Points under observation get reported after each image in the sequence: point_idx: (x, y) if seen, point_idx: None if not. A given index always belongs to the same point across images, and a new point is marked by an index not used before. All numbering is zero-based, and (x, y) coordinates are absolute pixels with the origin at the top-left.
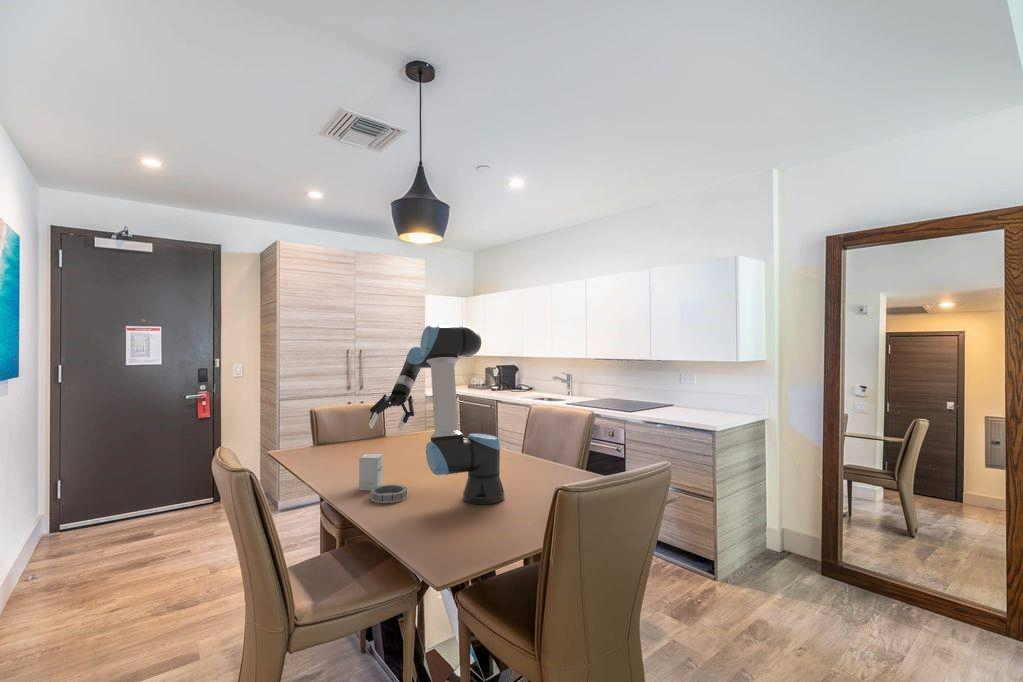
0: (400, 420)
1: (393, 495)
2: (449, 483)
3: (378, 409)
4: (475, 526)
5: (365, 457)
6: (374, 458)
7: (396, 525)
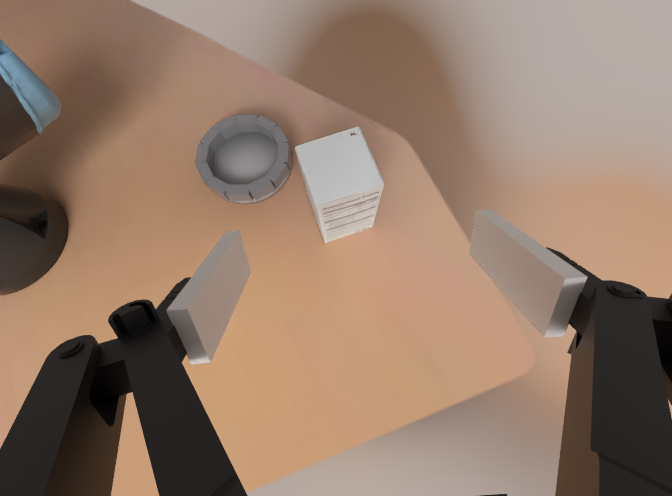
0: (219, 258)
1: (212, 127)
2: None
3: (594, 321)
4: None
5: (341, 136)
6: (305, 143)
7: (161, 56)
